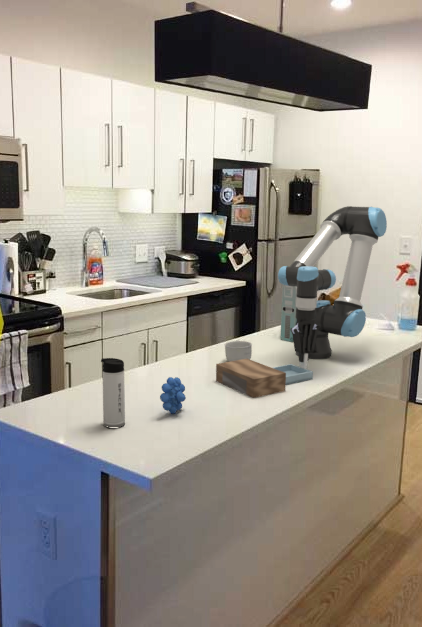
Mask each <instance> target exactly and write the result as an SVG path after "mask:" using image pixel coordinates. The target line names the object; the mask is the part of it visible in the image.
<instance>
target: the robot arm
mask: <svg viewBox="0 0 422 627" xmlns="http://www.w3.org/2000/svg"><path fill="white" fill-rule="evenodd" d="M387 226H388V224H387V217H386V213H385V211H384V210H383V209H382V208H380V207H373V206H349V205H348V206H343V207H341V208H338V209H337V210H335V211H333V212H332V213H330V214H329V215H328V216H327V217H326V218H325V219H324V220H323V221H322V222H321V224H320V225H319V228H320V229H318V231H317V232H316V234H315V235H314V236H313V237H312V238H311V240H310V241H309V242H308V243H307V245H306V246H305V247H304V248H303V249H302V251H301V252H300V253H299V254H298V256H296V258H295V259H294V261H293V262H292V263H291V264H290V265H289V266H288V265H283V266H281V267H280V268H279V269H278V272H277V279H278V282H279V283H280V284H281V285H282V284H283V285H287V286H295V287H297V297H296V307H297V309H296V319H297V322H296V326H295V327H294V328H291V329H290V330H291V332H292V335H293V342H292V343H293V347H294V348H293V349H294V352H295V355H296V356H298V361H299V367H301V368H304V369H307V370H308V362H309V359H311V360H312V359H313V360H314V359H315V360H321V359H328V358H331V357H332V355H333V354H332V352H333V349H332V348H331V343H330V338H329V334H330V335H336V336H342V337H344V338H345V337H348V338H355V337H357V336H359V335H360V334H361V333H362V331H363V329H364V328H365V326H366V319H367V318H366V316H367V315H366V312H365V311H364V309H363V307H364V306H363V304H362V303H361V299H362V294H363V291H364V290H363V289H364V285H365V282H366V277H367V272H368V268H369V263H370V259H371V255H372V250H373V246H374V245H376V244H377V243H378V240H379V238H380V237H383V236H385V234H386V232H387ZM344 235H348V236H349V239H350V241H351V243H350V248H349V252H348V257H347V261H346V265H345V271H344V274H343V279H342V283H341V288H340V291H339V295H338V296H339V297H337V298H336V299H334V301H333V305H331V301H330V300H325V299H323V300H321V299H320V300H317V299H318V292H320V291H324V290H325V291H326V290H329V289H331V288H333V287H334V286H335V284H336V281H337V276H336V274H335V272H334V271H333V270H331V269H329V268H328V269H325V268H323V269H319V268H318V267H317V266H315V265H316V264H317V263H318V261H319V260H320V259H321V258H322V257H323V256H324V254H325V252H326V251H327V250H328V249H329V248H330V246H331V245H332V244H333V243H334V241H337V240H339V239H340V238H341V236H344Z"/></svg>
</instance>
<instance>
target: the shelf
mask: <svg viewBox="0 0 422 627" xmlns="http://www.w3.org/2000/svg"><path fill="white" fill-rule="evenodd" d="M215 374H216V375H215V381H216V383H220V384H221V385H224V386H226V387H228V388H230V389H233V390H235V391H236V392H240V393H241V394H244V395H246V396H248V397H250V398H252V399H256V398H260V397H265V396H268V395H269V396H270V395H273V394H277V393H282V392H286V386H287V385H286V373H285V372H282V371H279V370H277V369H274V368H273V367H270V366H269V365H265V364H263V363H260V362H257V361H256V360H255V361H254V360H253V359H242V360H236V361H230V362H229V361H225V362H219V363H216V366H215Z"/></svg>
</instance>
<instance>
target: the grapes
mask: <svg viewBox="0 0 422 627" xmlns="http://www.w3.org/2000/svg"><path fill="white" fill-rule="evenodd" d="M161 390H162V393H161V394H160V395H159V399H160V401H161V402H162V408H163V410H164V411H165V412H167V411H168V412H169V413H170V414H175V413H176V412H177V411H180V410H182V408H183V402H184V401H185V400H186V398H187V397H186V395H185V391H186V386H185V385H184V383H182V381H181V378H180V377H172V376H170V377H168V378H167V379H166V383H165V382H164V383H163V384H162V385H161Z"/></svg>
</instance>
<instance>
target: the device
mask: <svg viewBox="0 0 422 627" xmlns="http://www.w3.org/2000/svg"><path fill="white" fill-rule="evenodd" d="M281 285H282V287H281V290H282V292H281V311H280V312H281V316H280V317H281V318H280V336H279V337H280V339H279V340H280V341H283V342H288V343H294V342H293V335H292V332H291V330H290V329H291V328H294V327H295V326H296V322H297V319H296V309H297V307H296V297H297V287H295V286H287V285H283V284H281Z"/></svg>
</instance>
